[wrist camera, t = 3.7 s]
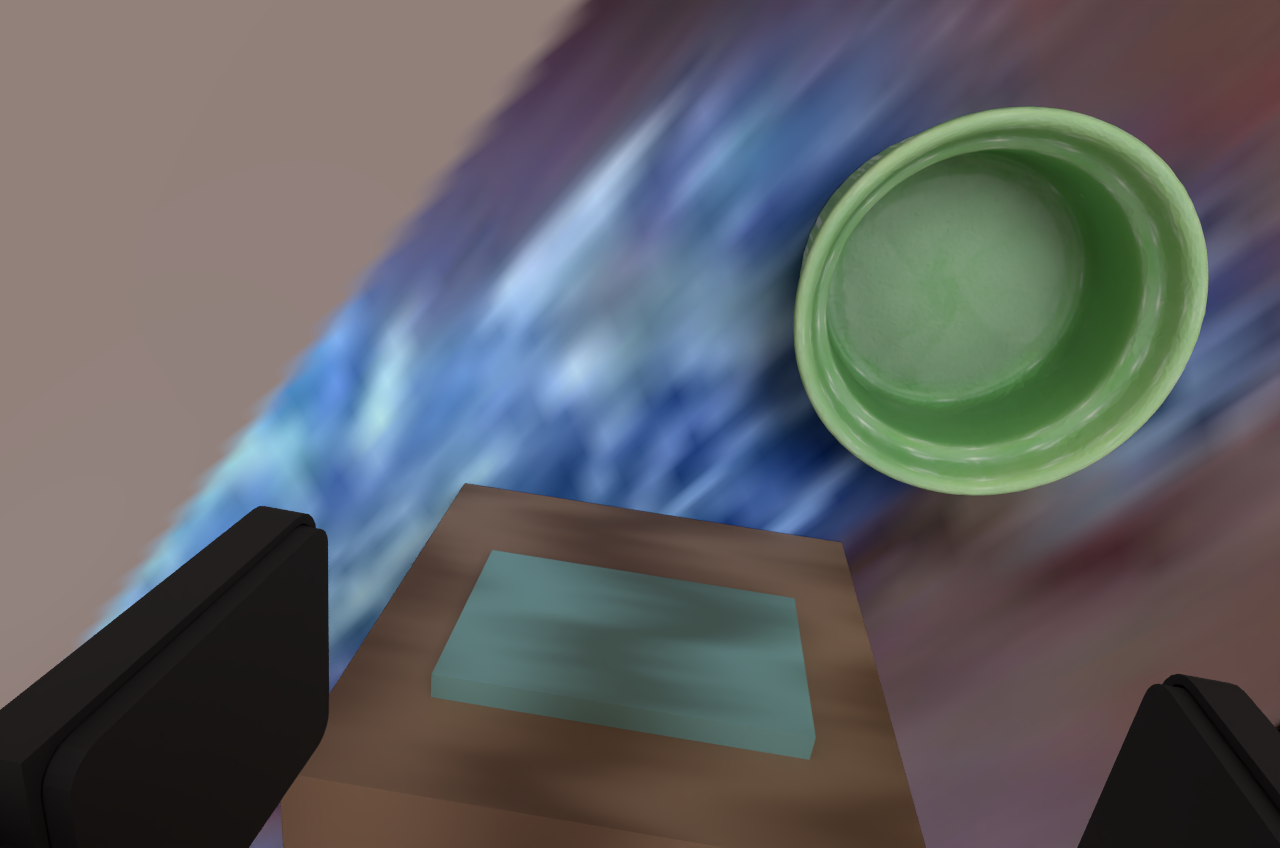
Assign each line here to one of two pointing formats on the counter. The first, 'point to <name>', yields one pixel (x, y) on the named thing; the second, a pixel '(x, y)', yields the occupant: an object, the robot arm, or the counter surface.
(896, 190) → the ramekin
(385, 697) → the walnut housing
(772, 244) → the counter surface
